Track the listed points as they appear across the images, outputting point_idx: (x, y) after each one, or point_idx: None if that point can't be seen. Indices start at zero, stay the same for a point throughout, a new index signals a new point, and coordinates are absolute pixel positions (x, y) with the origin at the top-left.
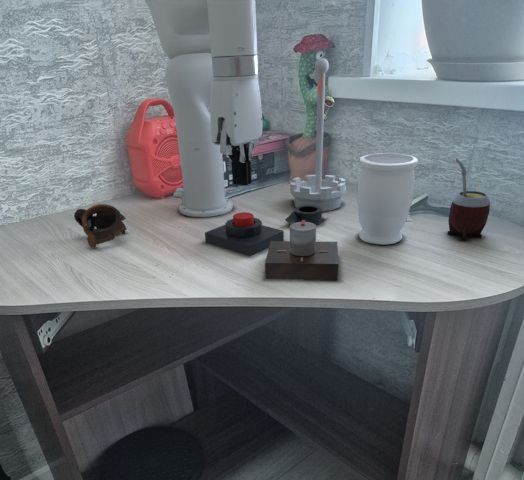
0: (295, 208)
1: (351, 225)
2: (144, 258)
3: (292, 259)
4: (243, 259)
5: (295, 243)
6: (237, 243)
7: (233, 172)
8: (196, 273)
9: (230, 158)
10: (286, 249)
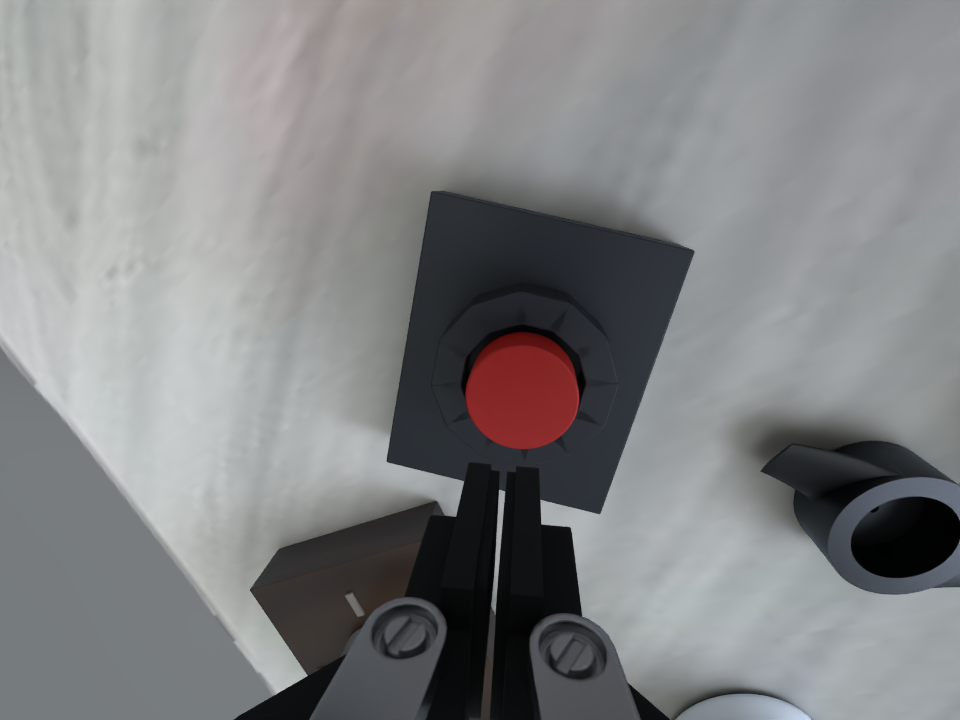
0: (910, 479)
1: (861, 647)
2: (156, 28)
3: (317, 647)
4: (370, 427)
5: None
6: (396, 401)
7: (420, 548)
8: (188, 340)
9: (327, 670)
10: None
